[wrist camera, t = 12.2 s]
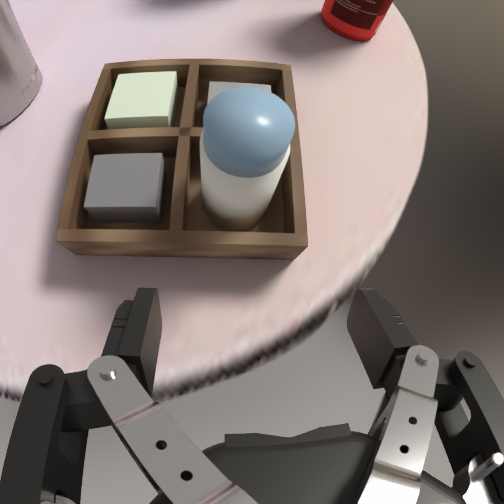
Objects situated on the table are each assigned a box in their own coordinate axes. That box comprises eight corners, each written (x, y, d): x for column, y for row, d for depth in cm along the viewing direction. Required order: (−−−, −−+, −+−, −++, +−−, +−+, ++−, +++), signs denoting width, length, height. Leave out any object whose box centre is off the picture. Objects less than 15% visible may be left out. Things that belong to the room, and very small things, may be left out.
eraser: (97, 222, 22) (83, 207, 19) (105, 174, 23) (94, 155, 20) (161, 223, 22) (155, 206, 20) (166, 173, 23) (162, 152, 21)
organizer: (75, 254, 22) (55, 240, 18) (112, 88, 26) (105, 63, 23) (294, 259, 23) (308, 246, 20) (283, 90, 28) (290, 64, 24)
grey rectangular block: (206, 131, 25) (206, 112, 22) (209, 100, 26) (209, 81, 23) (267, 134, 25) (272, 116, 23) (266, 103, 26) (270, 85, 24)
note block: (113, 140, 24) (104, 118, 21) (124, 96, 25) (118, 74, 22) (171, 138, 24) (167, 115, 21) (178, 94, 26) (176, 71, 23)
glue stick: (200, 230, 23) (194, 157, 13) (204, 170, 24) (203, 82, 15) (268, 232, 23) (303, 164, 14) (266, 173, 24) (295, 88, 15)
